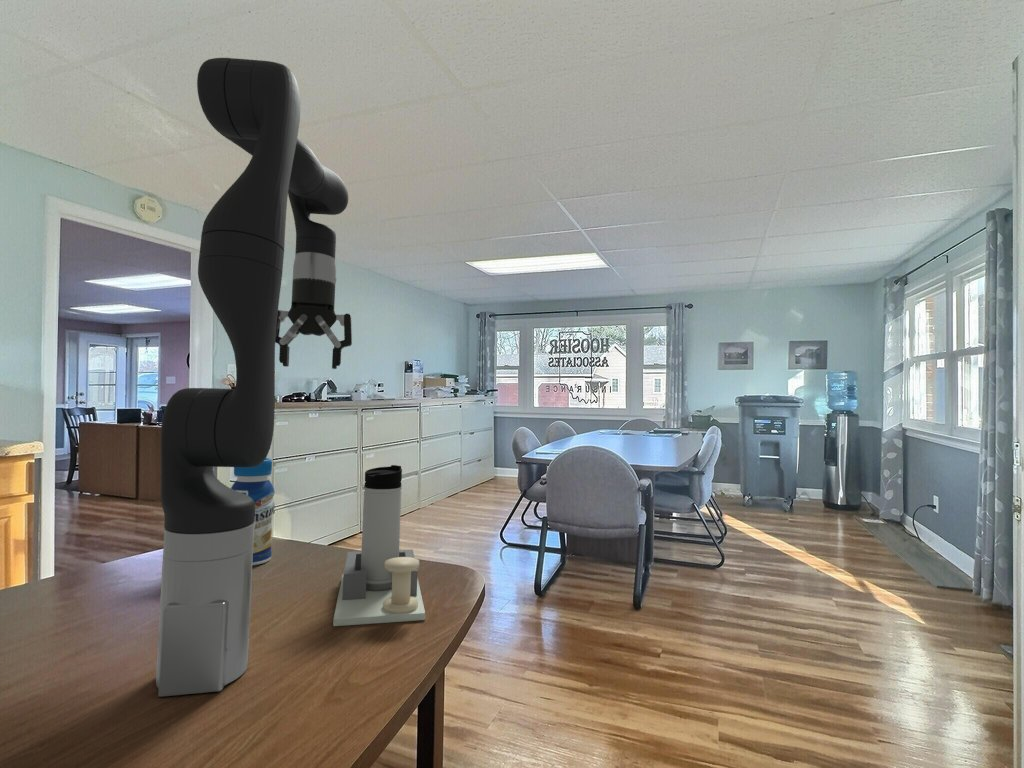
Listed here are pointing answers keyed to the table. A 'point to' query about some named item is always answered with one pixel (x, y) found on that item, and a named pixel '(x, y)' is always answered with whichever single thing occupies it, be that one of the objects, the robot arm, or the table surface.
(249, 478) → the beverage bottle
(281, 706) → the table surface
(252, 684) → the table surface
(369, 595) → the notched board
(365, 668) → the table surface
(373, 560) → the travel mug
